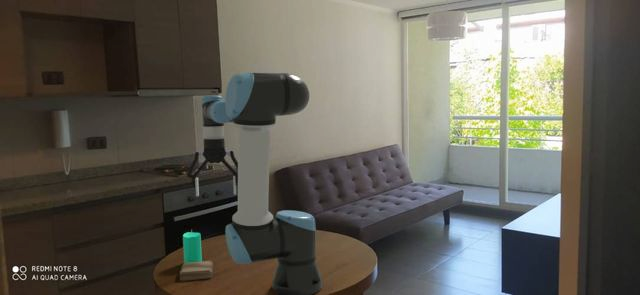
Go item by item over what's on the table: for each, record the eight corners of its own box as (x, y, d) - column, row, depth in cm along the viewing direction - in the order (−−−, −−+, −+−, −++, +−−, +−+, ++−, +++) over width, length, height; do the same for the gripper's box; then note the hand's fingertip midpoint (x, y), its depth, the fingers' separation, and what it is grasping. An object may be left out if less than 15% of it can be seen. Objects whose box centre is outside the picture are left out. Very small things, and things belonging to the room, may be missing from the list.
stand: (211, 277, 148) (211, 270, 148) (179, 280, 147) (179, 273, 146) (212, 266, 158) (212, 259, 158) (182, 269, 156) (182, 262, 156)
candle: (181, 263, 162) (179, 230, 161) (195, 259, 166) (194, 226, 165) (190, 267, 158) (188, 233, 157) (205, 262, 162) (203, 229, 161)
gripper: (248, 136, 174) (250, 191, 176) (180, 138, 170) (182, 194, 172) (248, 137, 166) (250, 195, 168) (177, 139, 162) (180, 198, 165)
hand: (216, 194), depth 170 cm, fingers open, 13 cm apart
